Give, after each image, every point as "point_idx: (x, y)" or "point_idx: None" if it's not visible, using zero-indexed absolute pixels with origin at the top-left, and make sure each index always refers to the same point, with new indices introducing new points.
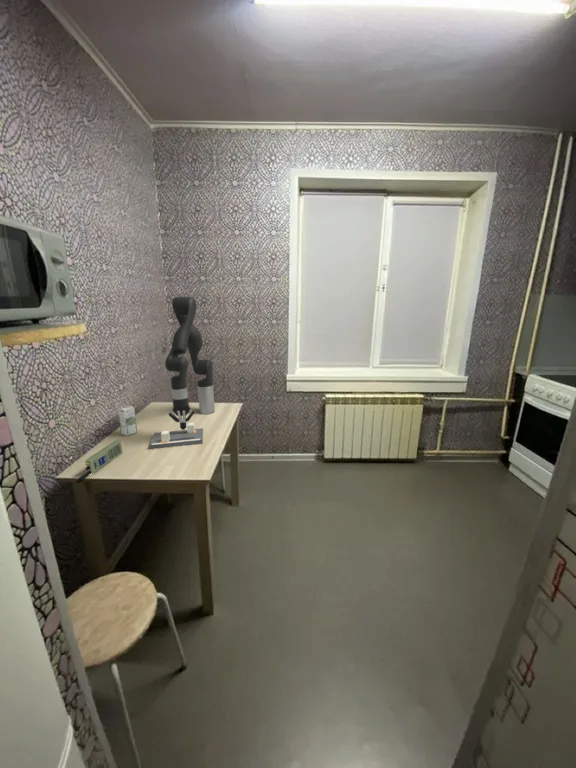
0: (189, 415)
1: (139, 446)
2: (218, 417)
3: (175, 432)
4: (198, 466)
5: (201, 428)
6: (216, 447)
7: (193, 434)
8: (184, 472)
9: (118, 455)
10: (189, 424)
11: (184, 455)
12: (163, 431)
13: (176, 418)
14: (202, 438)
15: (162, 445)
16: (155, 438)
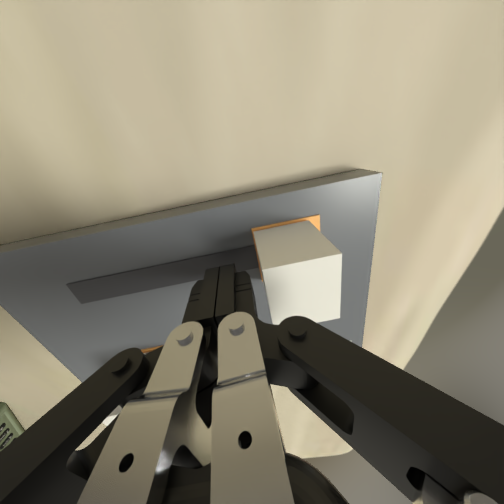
0: (373, 460)
1: (27, 360)
2: None
3: (153, 258)
4: (334, 432)
5: (368, 177)
6: (404, 355)
7: None
8: (301, 448)
9: (16, 422)
10: (295, 305)
11: (284, 400)
12: (112, 420)
13: (105, 405)
14: (361, 326)
15: None
16: (65, 343)
